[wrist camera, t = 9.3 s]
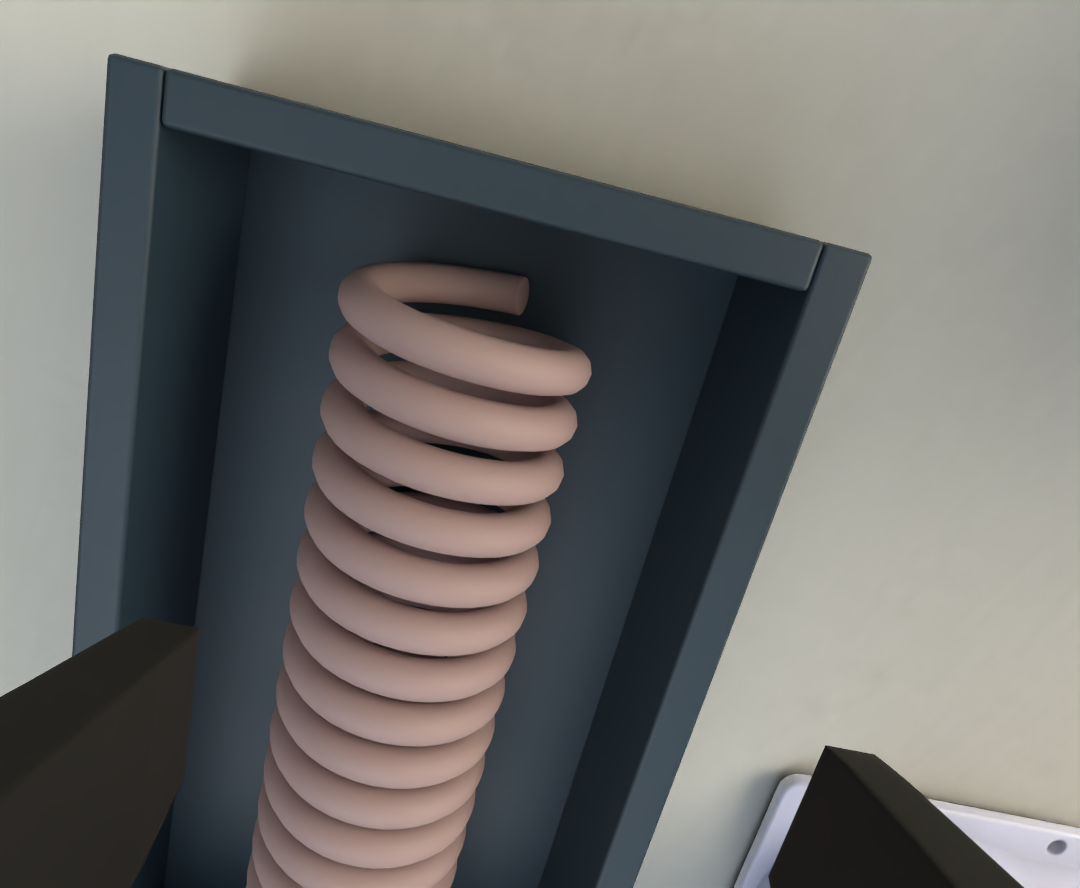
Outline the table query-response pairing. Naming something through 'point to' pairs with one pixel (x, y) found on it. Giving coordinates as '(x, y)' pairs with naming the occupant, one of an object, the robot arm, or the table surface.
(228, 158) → the bin
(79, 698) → the robot arm
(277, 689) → the coil
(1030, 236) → the table surface
